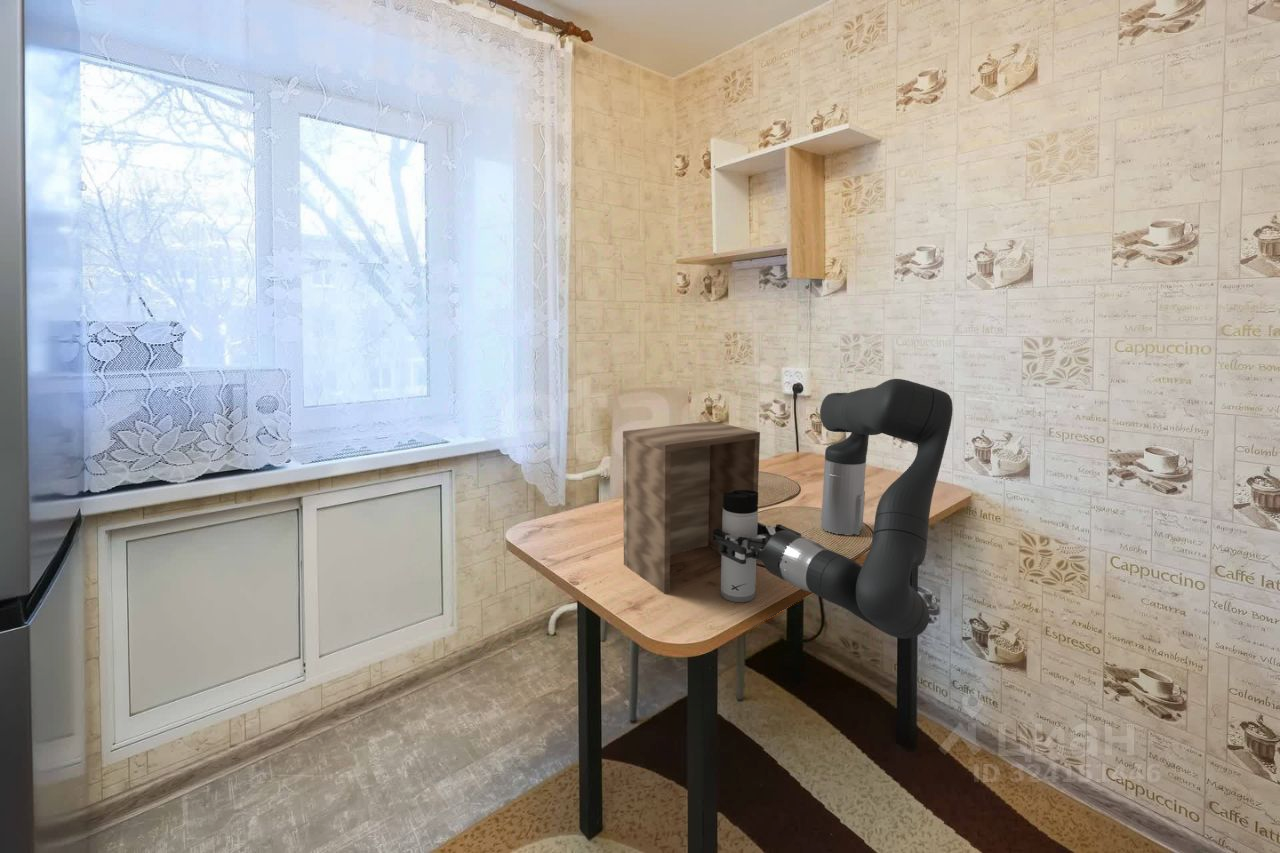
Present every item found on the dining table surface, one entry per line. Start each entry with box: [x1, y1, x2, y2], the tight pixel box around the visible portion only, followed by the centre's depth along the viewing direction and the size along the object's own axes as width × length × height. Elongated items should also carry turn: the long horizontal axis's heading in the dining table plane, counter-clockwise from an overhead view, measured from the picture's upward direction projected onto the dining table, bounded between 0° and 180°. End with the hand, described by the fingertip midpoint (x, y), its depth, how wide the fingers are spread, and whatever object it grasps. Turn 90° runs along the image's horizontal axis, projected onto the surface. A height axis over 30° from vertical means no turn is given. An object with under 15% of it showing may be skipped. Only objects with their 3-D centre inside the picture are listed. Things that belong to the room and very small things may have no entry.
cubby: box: [622, 420, 761, 594], centre depth 114 cm, size 15×22×28 cm
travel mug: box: [720, 490, 759, 603], centre depth 102 cm, size 6×7×20 cm
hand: (732, 530), depth 103 cm, fingers open, 8 cm apart
